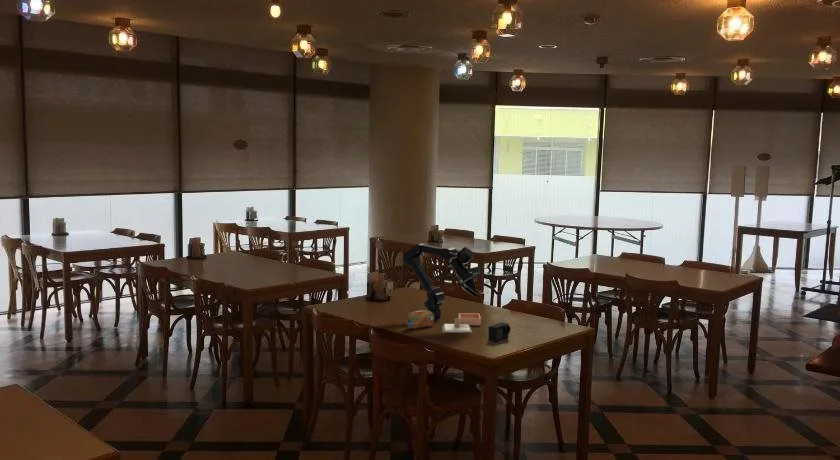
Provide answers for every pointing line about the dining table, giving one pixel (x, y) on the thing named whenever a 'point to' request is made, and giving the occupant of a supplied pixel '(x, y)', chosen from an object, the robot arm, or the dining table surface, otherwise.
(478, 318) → the dish
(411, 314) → the tin
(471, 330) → the mat
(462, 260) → the robot arm
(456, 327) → the lid
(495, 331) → the digital camera
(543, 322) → the dining table surface
